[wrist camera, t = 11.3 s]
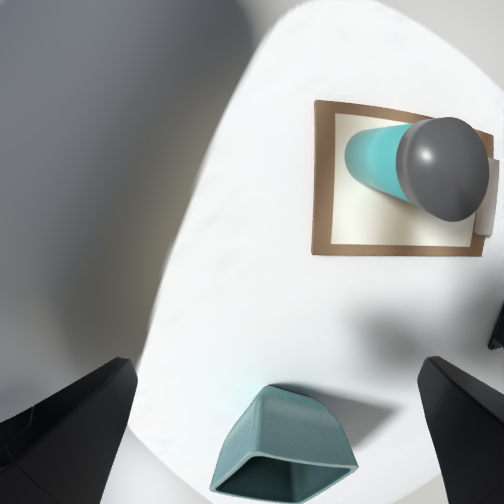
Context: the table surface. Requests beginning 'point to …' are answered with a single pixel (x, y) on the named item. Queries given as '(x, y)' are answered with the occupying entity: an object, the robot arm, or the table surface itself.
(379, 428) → the table surface
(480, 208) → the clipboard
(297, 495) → the flower pot
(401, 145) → the teal capped bottle
